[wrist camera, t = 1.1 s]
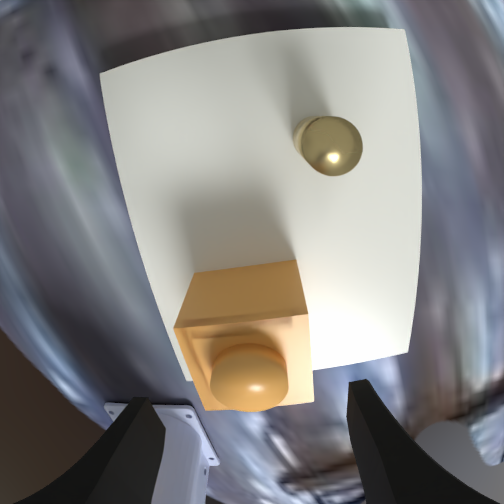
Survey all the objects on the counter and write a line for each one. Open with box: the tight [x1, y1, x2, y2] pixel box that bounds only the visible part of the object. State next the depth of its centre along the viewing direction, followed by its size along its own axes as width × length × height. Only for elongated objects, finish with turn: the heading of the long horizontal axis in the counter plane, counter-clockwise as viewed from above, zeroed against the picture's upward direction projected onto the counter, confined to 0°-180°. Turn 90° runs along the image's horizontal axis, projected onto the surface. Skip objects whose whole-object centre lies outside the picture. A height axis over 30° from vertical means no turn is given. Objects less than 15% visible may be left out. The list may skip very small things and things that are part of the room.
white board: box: [99, 27, 422, 381], centre depth 15 cm, size 18×14×2 cm
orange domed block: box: [173, 260, 314, 412], centre depth 14 cm, size 5×5×6 cm
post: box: [293, 116, 363, 176], centre depth 11 cm, size 2×2×4 cm
